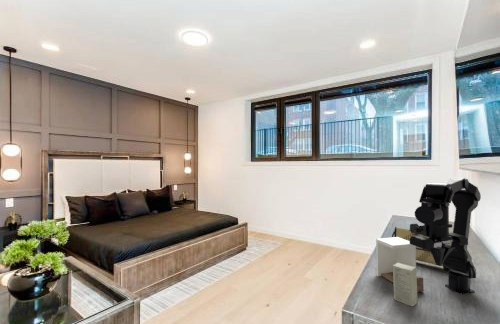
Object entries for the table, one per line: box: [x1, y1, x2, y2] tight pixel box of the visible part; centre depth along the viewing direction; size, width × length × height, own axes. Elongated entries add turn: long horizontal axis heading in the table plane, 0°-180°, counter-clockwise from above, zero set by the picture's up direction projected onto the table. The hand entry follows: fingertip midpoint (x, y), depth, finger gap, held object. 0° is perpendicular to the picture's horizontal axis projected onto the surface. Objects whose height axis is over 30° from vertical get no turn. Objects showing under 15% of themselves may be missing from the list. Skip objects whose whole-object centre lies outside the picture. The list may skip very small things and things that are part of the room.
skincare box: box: [392, 262, 419, 307], centre depth 86 cm, size 6×4×12 cm
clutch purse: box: [391, 226, 452, 272], centre depth 117 cm, size 30×7×15 cm, turn 43°
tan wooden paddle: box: [381, 272, 424, 293], centre depth 98 cm, size 8×15×5 cm, turn 13°
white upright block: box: [375, 236, 417, 277], centre depth 102 cm, size 11×9×16 cm
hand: (438, 265), depth 84 cm, fingers closed
